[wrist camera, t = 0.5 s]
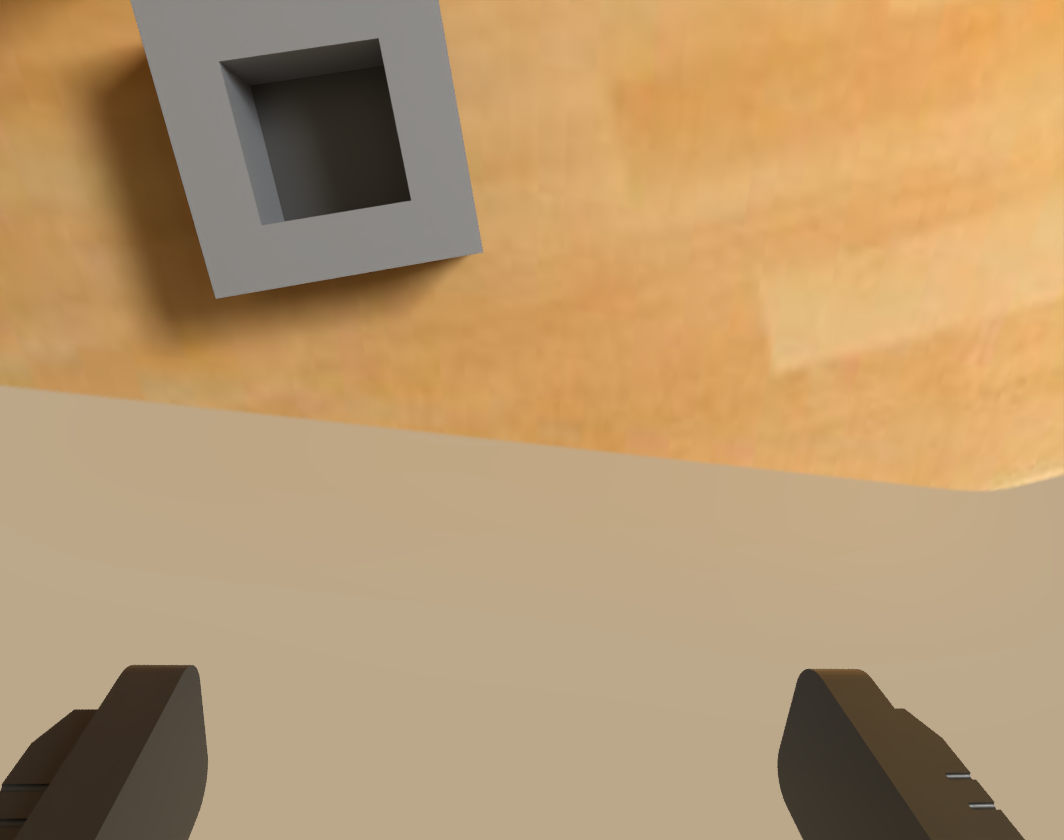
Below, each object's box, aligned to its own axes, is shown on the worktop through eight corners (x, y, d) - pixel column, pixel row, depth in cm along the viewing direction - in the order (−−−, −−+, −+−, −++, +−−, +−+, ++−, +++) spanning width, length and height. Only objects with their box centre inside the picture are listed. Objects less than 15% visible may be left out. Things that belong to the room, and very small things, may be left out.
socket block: (176, 32, 31) (129, -4, 26) (430, -4, 32) (430, -45, 27) (246, 288, 34) (215, 298, 29) (476, 248, 35) (482, 252, 30)
